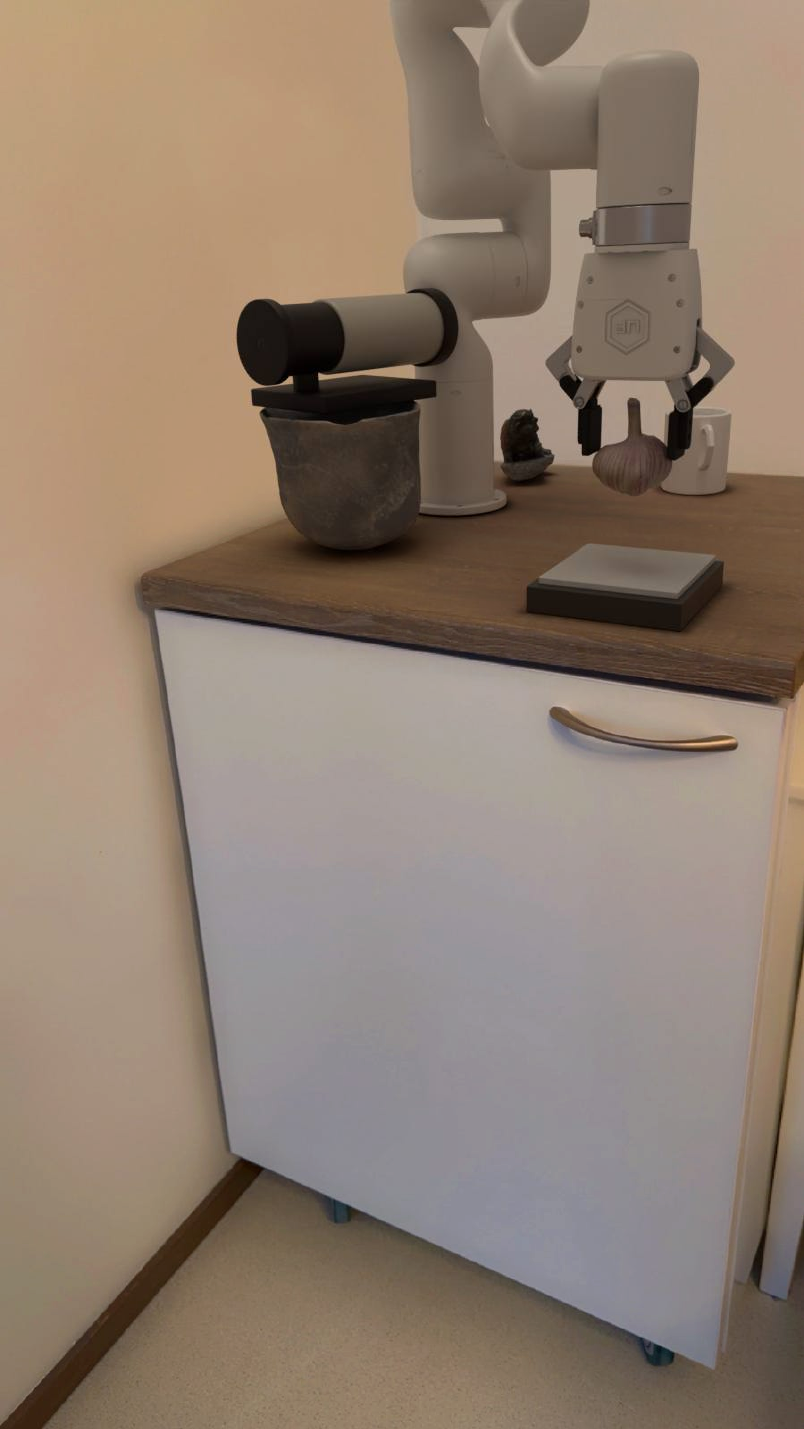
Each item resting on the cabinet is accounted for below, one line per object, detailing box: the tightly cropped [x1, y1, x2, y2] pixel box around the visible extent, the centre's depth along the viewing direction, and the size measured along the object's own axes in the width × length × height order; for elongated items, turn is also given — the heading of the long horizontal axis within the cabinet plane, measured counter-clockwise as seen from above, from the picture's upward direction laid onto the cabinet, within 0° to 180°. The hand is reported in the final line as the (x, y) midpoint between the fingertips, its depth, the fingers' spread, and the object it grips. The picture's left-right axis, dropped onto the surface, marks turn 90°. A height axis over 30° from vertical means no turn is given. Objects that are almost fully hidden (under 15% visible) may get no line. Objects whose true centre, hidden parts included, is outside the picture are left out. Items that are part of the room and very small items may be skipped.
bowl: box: [259, 400, 421, 551], centre depth 117 cm, size 18×18×15 cm
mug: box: [660, 406, 733, 496], centre depth 136 cm, size 8×12×10 cm, turn 179°
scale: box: [525, 542, 725, 632], centre depth 98 cm, size 14×14×3 cm
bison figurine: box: [499, 408, 555, 482], centre depth 148 cm, size 12×7×10 cm, turn 168°
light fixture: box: [235, 288, 459, 414], centre depth 115 cm, size 12×11×25 cm
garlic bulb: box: [591, 397, 672, 497], centre depth 93 cm, size 8×7×8 cm
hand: (632, 453), depth 93 cm, fingers closed on garlic bulb, 7 cm apart
